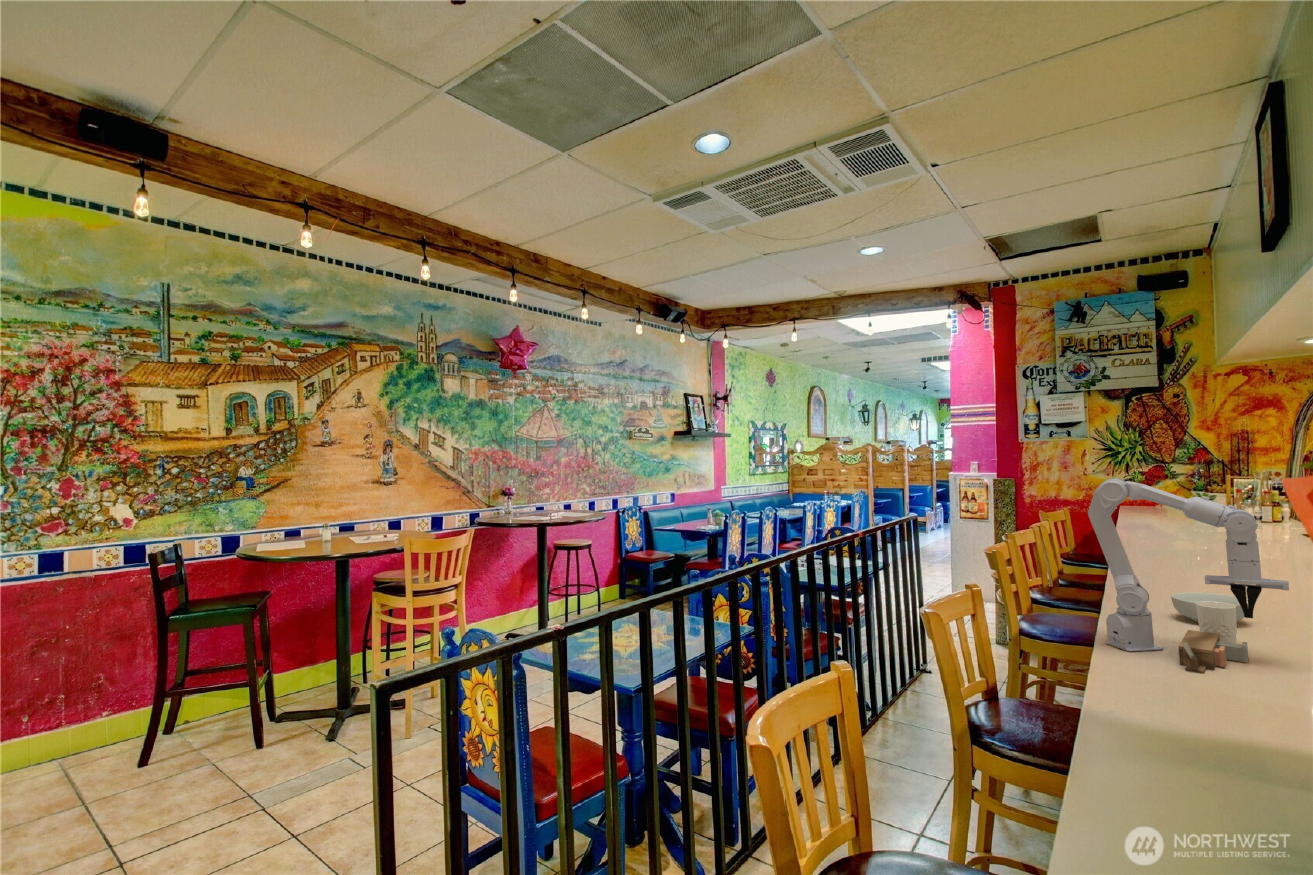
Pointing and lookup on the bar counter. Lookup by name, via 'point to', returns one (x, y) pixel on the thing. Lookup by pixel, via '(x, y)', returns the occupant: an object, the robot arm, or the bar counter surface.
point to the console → (1199, 650)
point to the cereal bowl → (1187, 601)
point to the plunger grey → (1235, 651)
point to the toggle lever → (1189, 651)
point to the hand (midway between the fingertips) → (1248, 617)
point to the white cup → (1218, 619)
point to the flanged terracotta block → (1220, 656)
